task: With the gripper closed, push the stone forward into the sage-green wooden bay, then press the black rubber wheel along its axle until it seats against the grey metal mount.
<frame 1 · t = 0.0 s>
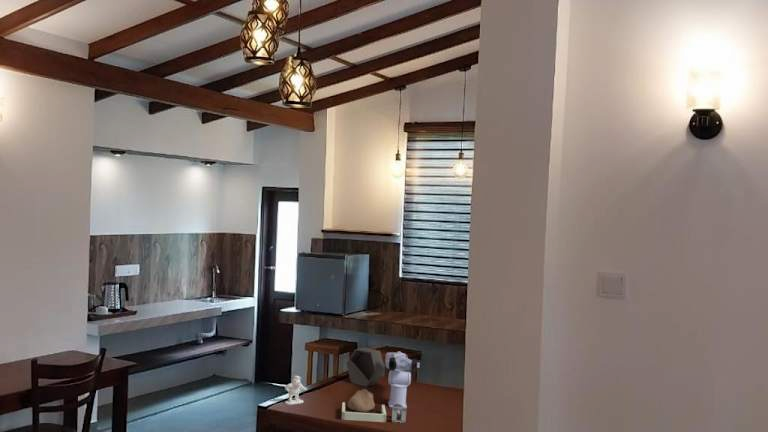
hand: (404, 366, 298), 22 cm above the table, tool horizontal, fingers open, 7 cm apart
wheel: (398, 411, 295), point 3 cm above the table, slide at 0.0 cm
bay: (363, 415, 297), on the table
figurine: (294, 403, 308), on the table
stone: (362, 410, 306), on the table
planter: (364, 384, 355), on the table
axle mount: (398, 421, 290), on the table
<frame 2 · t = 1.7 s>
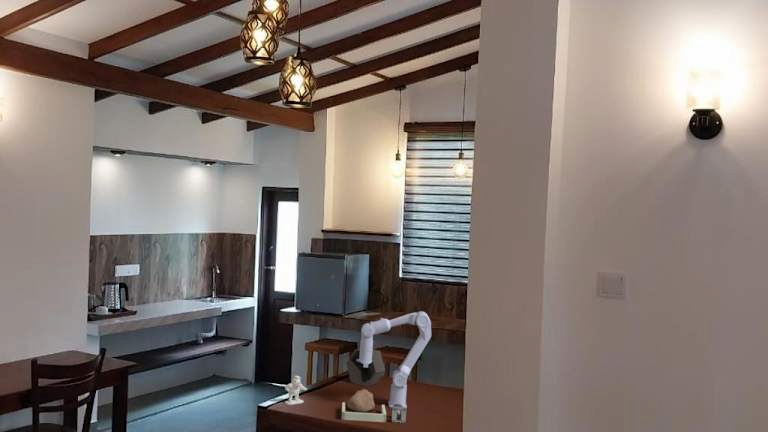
hand: (363, 380, 316), 10 cm above the table, tool pointing down, fingers open, 6 cm apart
nothing on the table moved.
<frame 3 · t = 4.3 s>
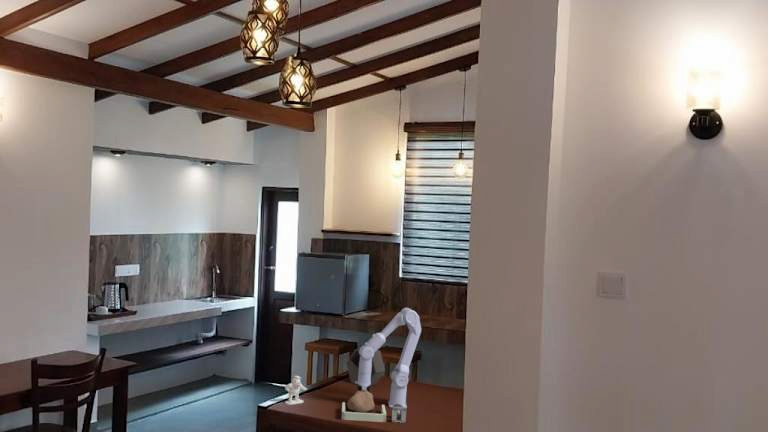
hand: (362, 402, 313), 1 cm above the table, tool pointing down, fingers closed
stone: (362, 410, 304), on the table, touching gripper
everything else where it was.
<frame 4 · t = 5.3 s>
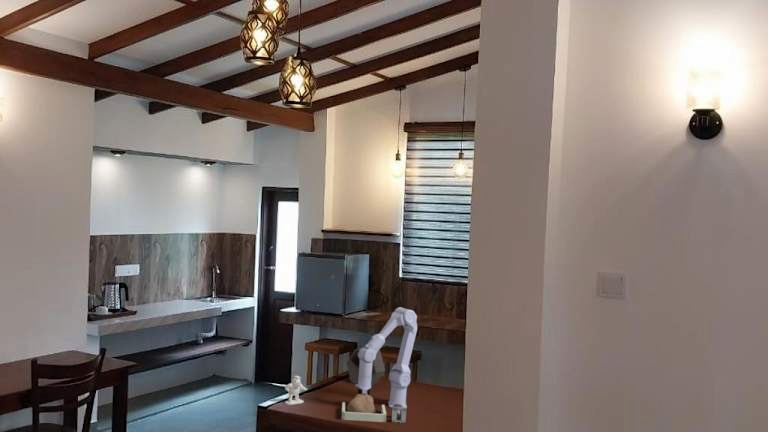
hand: (362, 406, 307), 1 cm above the table, tool pointing down, fingers closed
stone: (362, 414, 299), on the table, touching gripper
everything else where it was.
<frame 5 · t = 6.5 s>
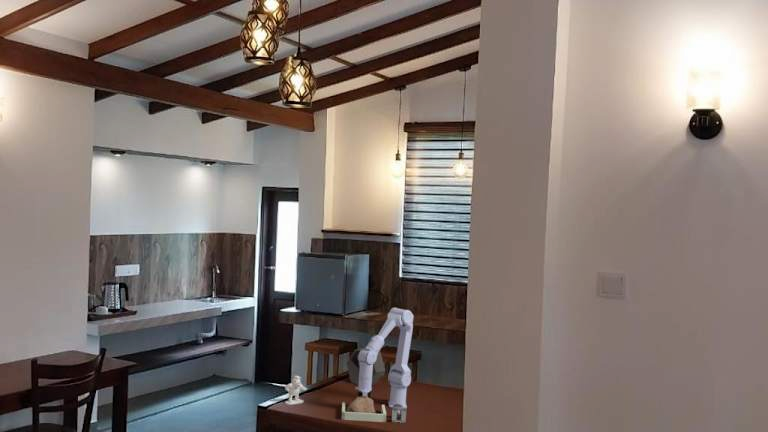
hand: (363, 409, 303), 1 cm above the table, tool pointing down, fingers closed
stone: (362, 417, 294), on the table, touching bay, gripper
everything else where it was.
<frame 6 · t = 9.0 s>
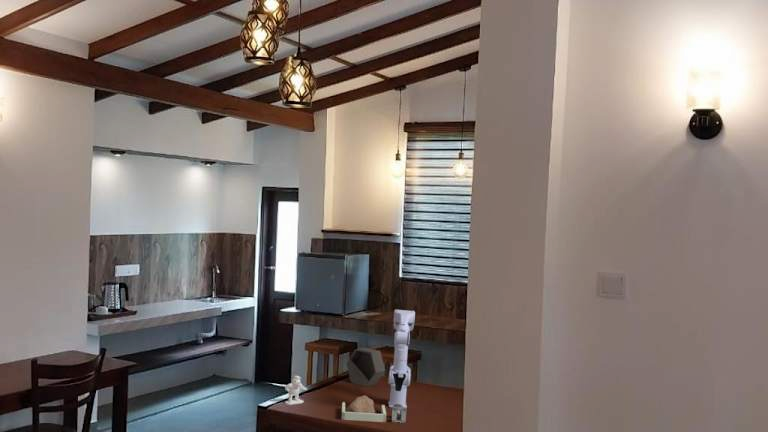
hand: (398, 390, 302), 10 cm above the table, tool pointing down, fingers closed
stone: (362, 417, 294), on the table
everything else where it was.
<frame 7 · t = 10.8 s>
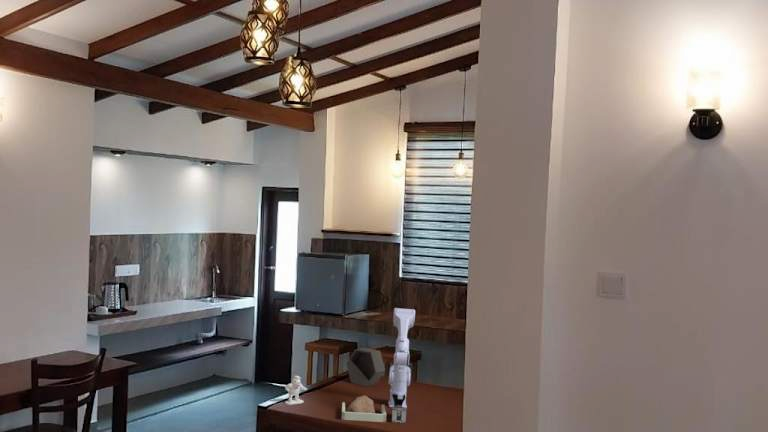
hand: (397, 412, 298), 2 cm above the table, tool pointing down, fingers closed
wheel: (398, 412, 293), point 3 cm above the table, slide at 1.6 cm, touching gripper
everything else where it was.
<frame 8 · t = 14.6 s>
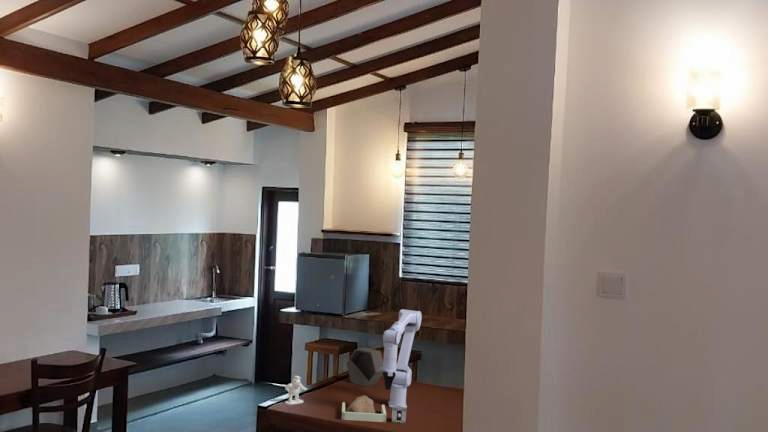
hand: (387, 389, 302), 10 cm above the table, tool pointing down, fingers closed
wheel: (398, 413, 292), point 3 cm above the table, slide at 3.5 cm
everything else where it was.
at the end: stone inside the target area (1.1 cm from its centre), on the table; wheel slide at 3.5 cm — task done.
